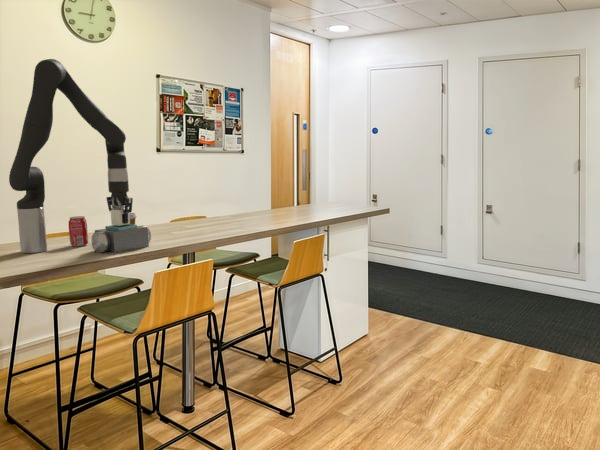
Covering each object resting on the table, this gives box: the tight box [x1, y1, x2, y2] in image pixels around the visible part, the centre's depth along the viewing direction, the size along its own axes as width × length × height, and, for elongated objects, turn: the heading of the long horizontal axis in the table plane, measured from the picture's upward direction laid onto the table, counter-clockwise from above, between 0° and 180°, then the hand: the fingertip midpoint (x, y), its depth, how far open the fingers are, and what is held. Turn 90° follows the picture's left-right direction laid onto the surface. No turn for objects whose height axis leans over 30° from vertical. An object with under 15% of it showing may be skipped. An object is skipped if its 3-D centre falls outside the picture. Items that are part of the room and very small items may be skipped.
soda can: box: [68, 215, 89, 248], centre depth 212 cm, size 7×7×12 cm
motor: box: [91, 224, 152, 254], centre depth 204 cm, size 12×22×9 cm, turn 145°
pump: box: [110, 206, 131, 226], centre depth 203 cm, size 5×5×8 cm
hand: (121, 222), depth 203 cm, fingers closed on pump, 5 cm apart
